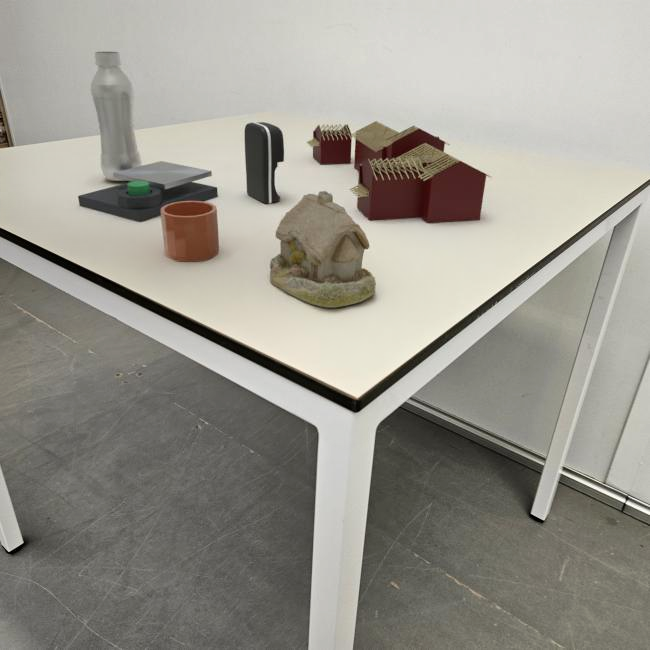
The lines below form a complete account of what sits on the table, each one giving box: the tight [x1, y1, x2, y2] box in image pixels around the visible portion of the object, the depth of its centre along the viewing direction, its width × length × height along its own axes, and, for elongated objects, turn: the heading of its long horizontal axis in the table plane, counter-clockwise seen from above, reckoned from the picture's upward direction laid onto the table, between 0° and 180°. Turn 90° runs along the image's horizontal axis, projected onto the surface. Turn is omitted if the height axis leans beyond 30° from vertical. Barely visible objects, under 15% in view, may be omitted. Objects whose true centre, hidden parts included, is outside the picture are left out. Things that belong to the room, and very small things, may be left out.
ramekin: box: [160, 201, 220, 263], centre depth 73 cm, size 6×6×6 cm
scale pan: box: [113, 160, 213, 189], centre depth 93 cm, size 10×11×1 cm
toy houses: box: [306, 120, 493, 224], centre depth 103 cm, size 45×20×10 cm, turn 14°
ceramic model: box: [269, 190, 377, 309], centre depth 65 cm, size 14×11×10 cm
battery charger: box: [244, 121, 285, 204], centre depth 93 cm, size 7×4×11 cm, turn 33°
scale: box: [77, 181, 219, 223], centre depth 92 cm, size 16×13×3 cm
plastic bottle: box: [90, 51, 143, 182], centre depth 98 cm, size 6×7×20 cm
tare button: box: [127, 181, 150, 196], centre depth 85 cm, size 3×3×2 cm
